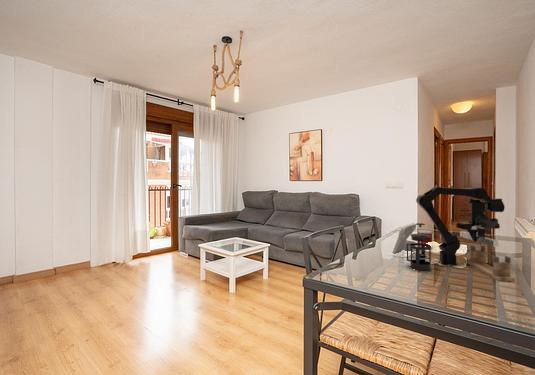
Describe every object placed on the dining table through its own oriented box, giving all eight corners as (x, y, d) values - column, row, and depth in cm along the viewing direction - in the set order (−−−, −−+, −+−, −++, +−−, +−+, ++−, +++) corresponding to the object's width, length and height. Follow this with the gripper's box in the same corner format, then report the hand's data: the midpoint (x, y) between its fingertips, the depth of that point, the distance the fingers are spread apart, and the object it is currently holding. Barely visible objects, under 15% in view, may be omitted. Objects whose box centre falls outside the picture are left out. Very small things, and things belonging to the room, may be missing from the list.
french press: (435, 268, 140) (435, 223, 138) (429, 273, 133) (429, 226, 132) (410, 263, 148) (410, 220, 147) (403, 268, 141) (403, 223, 140)
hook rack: (498, 281, 121) (498, 258, 121) (467, 263, 145) (467, 244, 144) (514, 281, 120) (514, 259, 120) (481, 264, 144) (481, 245, 143)
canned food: (434, 249, 172) (434, 232, 172) (421, 250, 172) (421, 232, 172) (427, 246, 180) (427, 229, 179) (415, 247, 180) (415, 230, 180)
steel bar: (493, 246, 131) (493, 240, 131) (459, 236, 153) (459, 231, 153) (498, 246, 131) (498, 240, 131) (464, 236, 153) (464, 231, 153)
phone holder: (400, 249, 176) (400, 221, 176) (417, 252, 168) (417, 222, 168) (387, 254, 165) (386, 224, 165) (404, 258, 157) (404, 226, 157)
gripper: (472, 214, 133) (471, 246, 134) (509, 213, 134) (509, 245, 135) (455, 211, 144) (455, 241, 145) (490, 210, 145) (490, 240, 146)
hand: (477, 242), depth 142 cm, fingers closed on steel bar, 2 cm apart
